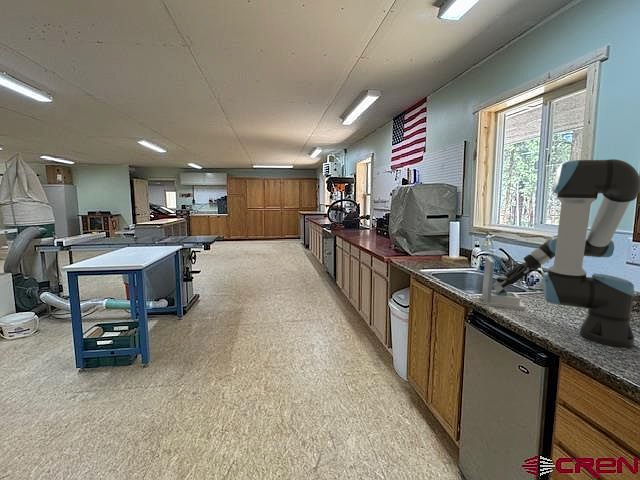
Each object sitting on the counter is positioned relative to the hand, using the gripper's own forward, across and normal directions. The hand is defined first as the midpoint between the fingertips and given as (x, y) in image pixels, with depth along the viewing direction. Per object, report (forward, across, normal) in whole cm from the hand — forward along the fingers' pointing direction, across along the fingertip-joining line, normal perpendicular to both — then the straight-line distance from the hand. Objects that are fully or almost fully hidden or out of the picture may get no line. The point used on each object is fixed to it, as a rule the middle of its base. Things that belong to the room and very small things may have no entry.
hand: (495, 289), depth 165 cm
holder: (+2, 0, -7) cm, 7 cm away
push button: (0, 0, -5) cm, 5 cm away
